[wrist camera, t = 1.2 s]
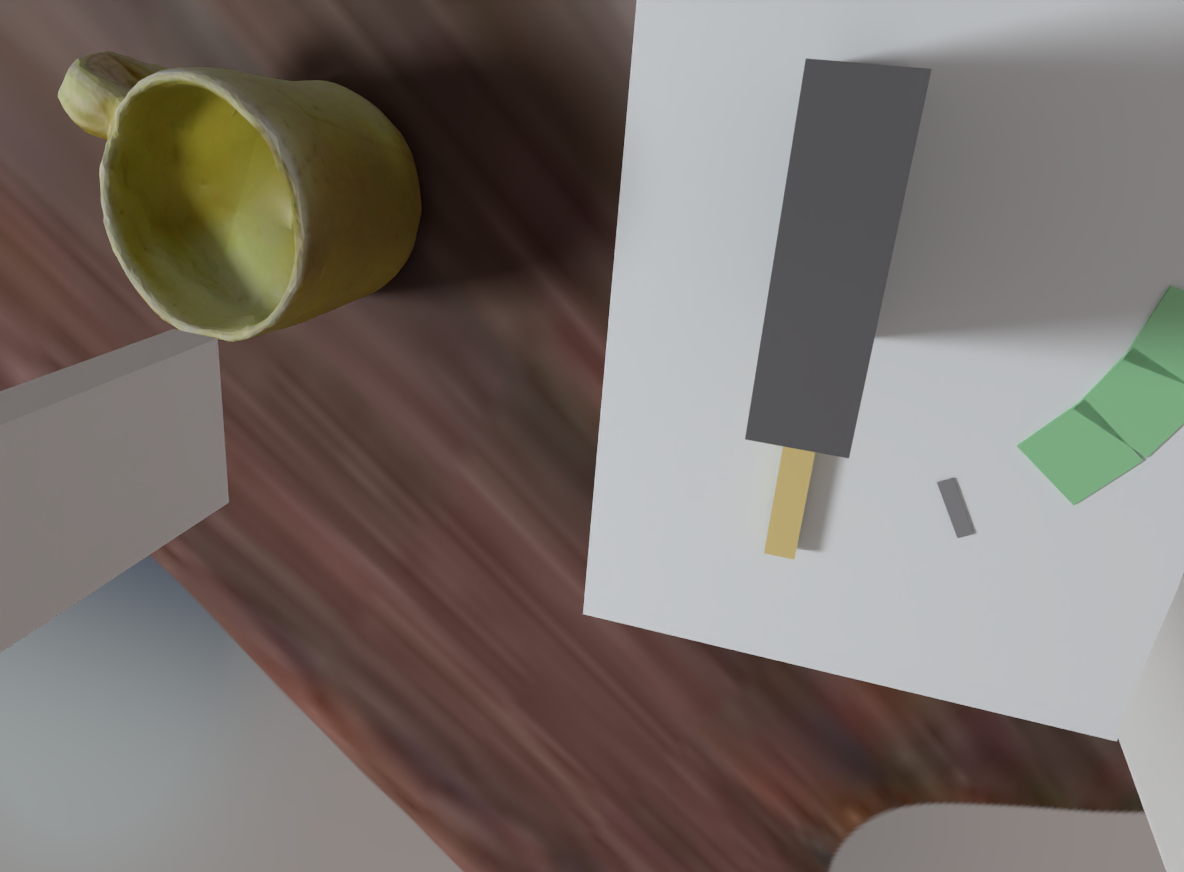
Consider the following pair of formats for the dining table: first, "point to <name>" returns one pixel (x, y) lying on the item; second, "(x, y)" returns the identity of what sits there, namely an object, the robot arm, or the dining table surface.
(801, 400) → the gray bar
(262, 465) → the dining table surface
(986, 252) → the board
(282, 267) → the mug
